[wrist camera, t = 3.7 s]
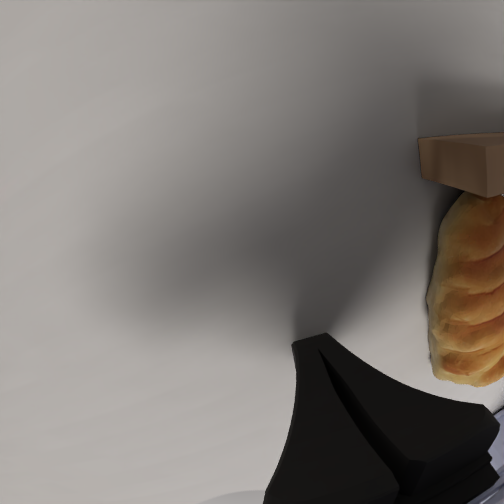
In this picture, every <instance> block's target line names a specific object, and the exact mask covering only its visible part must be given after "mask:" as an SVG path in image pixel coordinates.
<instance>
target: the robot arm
mask: <svg viewBox="0 0 504 504" xmlns="http://www.w3.org/2000/svg"><path fill="white" fill-rule="evenodd" d="M292 351H293V356H294V362H295V368H296V393H295V403H294V409H293V415H292V420H291V425H290V428H289V432H288V436H287V440H286V443H285V446H284V449H283V452H282V455H281V457H280V460H279V463H278V465H277V468H276V470H275V472H274V474H273V476H272V479H271V481H270V483H269V485H268V487H267V489H266V491H265V496H264V501H263V504H504V409H503V410H501V411H500V412H498V413H497V414H496V415H494V416H493V414H492V413H491V412H490V411H489V410H488V409H487V408H486V407H485V406H484V405H482V404H475V403H468V402H461V401H455V400H451V399H447V398H443V397H439V396H435V395H432V394H429V393H426V392H423V391H420V390H417V389H415V388H412V387H410V386H407V385H405V384H403V383H401V382H399V381H397V380H394V379H393V378H391V377H389V376H387V375H385V374H383V373H382V372H380V371H378V370H377V369H375V368H373V367H372V366H370V365H369V364H367V363H366V362H364V361H363V360H361V359H360V358H358V357H357V356H356V355H354V354H353V353H351V352H350V351H349V350H348V349H346V348H345V347H344V346H342V345H341V344H340V343H339V342H337V341H336V340H335V339H334V338H333V337H332V336H330V335H329V334H328V333H323V334H319V335H316V336H313V337H309V338H305V339H302V340H298V341H295V342H293V344H292Z"/></svg>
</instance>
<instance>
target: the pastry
mask: <svg viewBox="0 0 504 504" xmlns="http://www.w3.org/2000/svg"><path fill="white" fill-rule="evenodd" d="M426 301H427V304H428V308H429V311H428V318H429V331H428V338H429V350H430V353H431V364H432V370H433V374H434V376H435V377H436V378H438V379H439V380H445V381H446V380H448V381H452V382H454V383H455V384H469V385H472V386H474V387H483V386H487V385H489V384H491V383H493V382H496V381H498V380H499V379H500V378H502V377H503V376H504V196H502V195H497V196H493V197H489V198H486V197H483V196H480V195H477V194H474V193H471V192H468V191H465V192H464V193H462V194H461V196H460V197H459V198H458V199H457V200H456V202H455V203H454V204H453V205H452V207H451V208H450V209H449V211H448V212H447V214H446V215H445V217H444V218H443V220H442V222H441V225H440V229H439V232H438V255H437V259H436V262H435V265H434V269H433V275H432V279H431V282H430V284H429V287H428V291H427V295H426Z"/></svg>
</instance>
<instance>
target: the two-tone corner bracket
mask: <svg viewBox="0 0 504 504" xmlns="http://www.w3.org/2000/svg"><path fill="white" fill-rule="evenodd" d="M418 144H419V153H420V163H421V174H422V178H423V179H427V180H431V181H434V182H438V183H441V184H445V185H448V186H451V187H455V188H458V189H461V190H464V191H468V192H471V193H474V194H477V195H480V196H483V197H486V198H489V197H493V196H497V195H501V194H504V132H498V133H478V134H463V135H449V136H438V137H427V138H418Z"/></svg>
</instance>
